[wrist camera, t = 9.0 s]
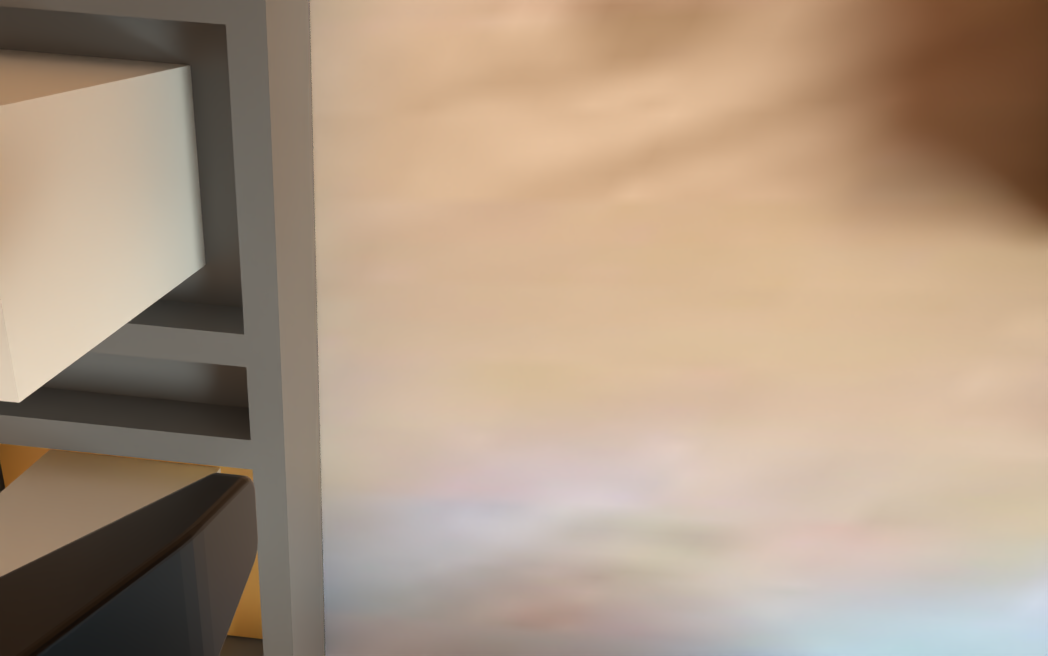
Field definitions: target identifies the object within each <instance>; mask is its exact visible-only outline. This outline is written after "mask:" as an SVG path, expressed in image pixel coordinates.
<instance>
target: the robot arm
mask: <svg viewBox="0 0 1048 656" xmlns="http://www.w3.org/2000/svg"><path fill="white" fill-rule="evenodd" d="M257 548H258V528H257V512H256V495H255V486H254V483H253V481H252V480H251V478H249V477H248V476H244V475H235V474H225V473H212V474H210V475H208V476H206V477H203V478H201V479H199V480H197V481H195V482H193V483H191V484H189V485H187V486H185V487H183V488H181V489H179V490H177V491H175V492H173V493H171V494H169V495H167V496H165V497H163V498H161V499H158V500H156V501H154V502H152V503H150V504H148V505H146V506H144V507H142V508H140V509H138V510H136V511H134V512H132V513H130V514H128V515H126V516H124V517H122V518H120V519H118V520H116V521H113V522H111V523H109V524H107V525H105V526H103V527H101V528H99V529H97V530H95V531H93V532H91V533H89V534H87V535H85V536H83V537H81V538H79V539H77V540H75V541H72V542H70V543H68V544H66V545H64V546H62V547H60V548H58V549H56V550H54V551H52V552H50V553H48V554H46V555H44V556H42V557H40V558H38V559H36V560H34V561H31V562H29V563H27V564H25V565H23V566H21V567H19V568H17V569H15V570H13V571H11V572H9V573H7V574H5V575H3V576H1V577H0V656H219V655H220V652H221V650H222V647H223V644H224V642H225V639H226V636H227V634H228V631H229V628H230V626H231V623H232V620H233V618H234V615H235V612H236V610H237V607H238V604H239V602H240V599H241V596H242V594H243V591H244V588H245V586H246V583H247V581H248V578H249V575H250V573H251V570H252V567H253V565H254V562H255V558H256V554H257Z"/></svg>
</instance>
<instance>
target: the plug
mask: <svg viewBox="0 0 1048 656" xmlns="http://www.w3.org/2000/svg"><path fill="white" fill-rule="evenodd" d="M212 473H221V468H218V467H209V466H199V465H190V464H181V463H171V462H162V461H153V460H144V459H134V458H125V457H116V456H106V455H97V454H88V453H78V452H69V451H60V450H49V451H48V452H47V453H45V454H44V455H43V456H42V457H41V458H40V459H38V460H37V461H36V462H35V463H34V464H33V465H32V466H30V467H29V468H28V469H27V470H26V471H25V472H23V473H22V474H21V475H20V476H19V477H18V478H17V479H15V480H14V481H13V482H12V483H11V484H10V485H9V486H7V487H6V488H5V489H4V490H3V491H2V492H0V577H1V576H3V575H5V574H7V573H9V572H11V571H13V570H15V569H17V568H19V567H21V566H23V565H25V564H27V563H29V562H31V561H34V560H36V559H38V558H40V557H42V556H44V555H46V554H48V553H50V552H52V551H54V550H56V549H58V548H60V547H62V546H64V545H66V544H68V543H70V542H72V541H75V540H77V539H79V538H81V537H83V536H85V535H87V534H89V533H91V532H93V531H95V530H97V529H99V528H101V527H103V526H105V525H107V524H109V523H111V522H113V521H116V520H118V519H120V518H122V517H124V516H126V515H128V514H130V513H132V512H134V511H136V510H138V509H140V508H142V507H144V506H146V505H148V504H150V503H152V502H154V501H156V500H158V499H161V498H163V497H165V496H167V495H169V494H171V493H173V492H175V491H177V490H179V489H181V488H183V487H185V486H187V485H189V484H191V483H193V482H195V481H197V480H199V479H201V478H203V477H206V476H208V475H210V474H212Z"/></svg>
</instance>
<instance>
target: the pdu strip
mask: <svg viewBox="0 0 1048 656" xmlns="http://www.w3.org/2000/svg"><path fill="white" fill-rule="evenodd" d="M49 450H60V451H69V452H78V453H88V454H97V455H106V456H116V457H125V458H134V459H144V460H153V461H162V462H171V463H181V464H190V465H199V466H209V467H218V468H221V473H225V474H235V475H244V476H248V477H249V478H251V480H252V481H253V483H254V486H255V495H256V512H257V528H258V548H257V554H256V558H255V562H254V565H253V567H252V570H251V573H250V575H249V578H248V581H247V583H246V586H245V588H244V591H243V594H242V596H241V599H240V602H239V604H238V607H237V610H236V612H235V615H234V618H233V620H232V623H231V626H230V628H229V631H228V634H227V636H226V639H225V642H224V644H223V647H222V650H221V652H220V655H219V656H325V634H324V592H323V550H322V508H321V466H320V424H319V382H318V340H317V298H316V255H315V213H314V171H313V129H312V87H311V45H310V3H309V0H0V492H2V491H3V490H4V489H5V488H6V487H7V486H9V485H10V484H11V483H12V482H13V481H14V480H15V479H17V478H18V477H19V476H20V475H21V474H22V473H23V472H25V471H26V470H27V469H28V468H29V467H30V466H32V465H33V464H34V463H35V462H36V461H37V460H38V459H40V458H41V457H42V456H43V455H44V454H45V453H47V452H48V451H49Z"/></svg>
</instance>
